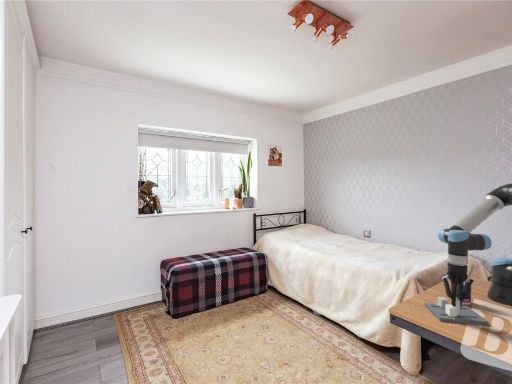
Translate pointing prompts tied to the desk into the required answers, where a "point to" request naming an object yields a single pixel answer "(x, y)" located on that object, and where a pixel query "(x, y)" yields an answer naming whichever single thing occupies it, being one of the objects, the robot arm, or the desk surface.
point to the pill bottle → (468, 300)
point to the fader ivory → (451, 310)
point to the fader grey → (442, 302)
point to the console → (464, 317)
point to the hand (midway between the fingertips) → (456, 312)
